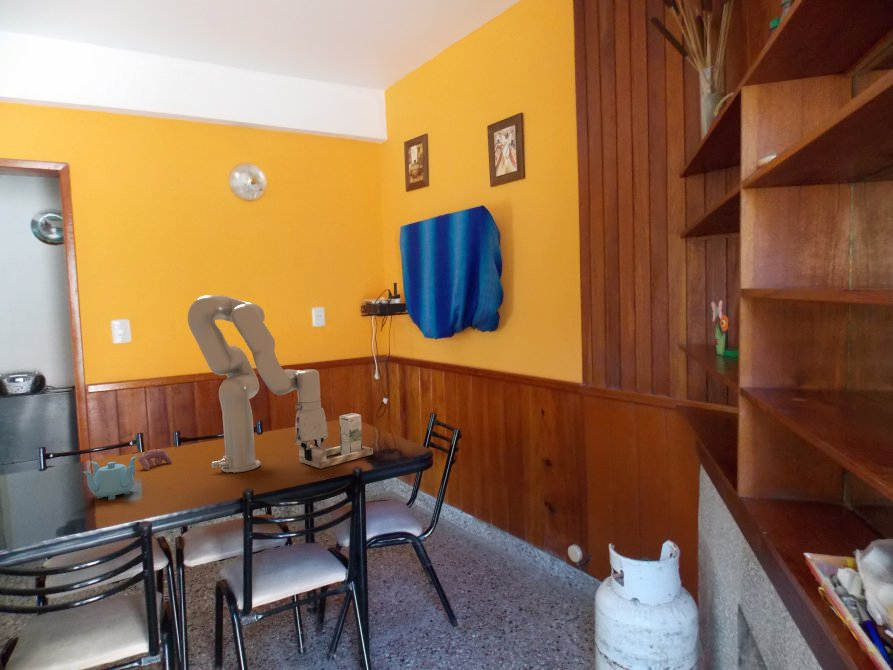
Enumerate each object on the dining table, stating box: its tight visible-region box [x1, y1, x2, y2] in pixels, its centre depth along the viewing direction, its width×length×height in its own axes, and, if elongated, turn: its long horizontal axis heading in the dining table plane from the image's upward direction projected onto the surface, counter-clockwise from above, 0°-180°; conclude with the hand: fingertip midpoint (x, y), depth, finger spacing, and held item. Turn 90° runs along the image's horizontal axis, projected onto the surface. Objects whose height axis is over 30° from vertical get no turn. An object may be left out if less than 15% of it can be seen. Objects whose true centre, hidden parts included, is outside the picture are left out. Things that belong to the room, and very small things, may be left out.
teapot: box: [82, 454, 138, 501], centre depth 172 cm, size 13×13×10 cm
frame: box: [298, 444, 374, 469], centre depth 202 cm, size 22×13×6 cm, turn 135°
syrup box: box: [338, 412, 363, 456], centre depth 207 cm, size 6×6×14 cm
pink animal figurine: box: [138, 448, 172, 471], centre depth 202 cm, size 10×5×7 cm, turn 151°
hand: (312, 458), depth 195 cm, fingers closed on frame, 2 cm apart
